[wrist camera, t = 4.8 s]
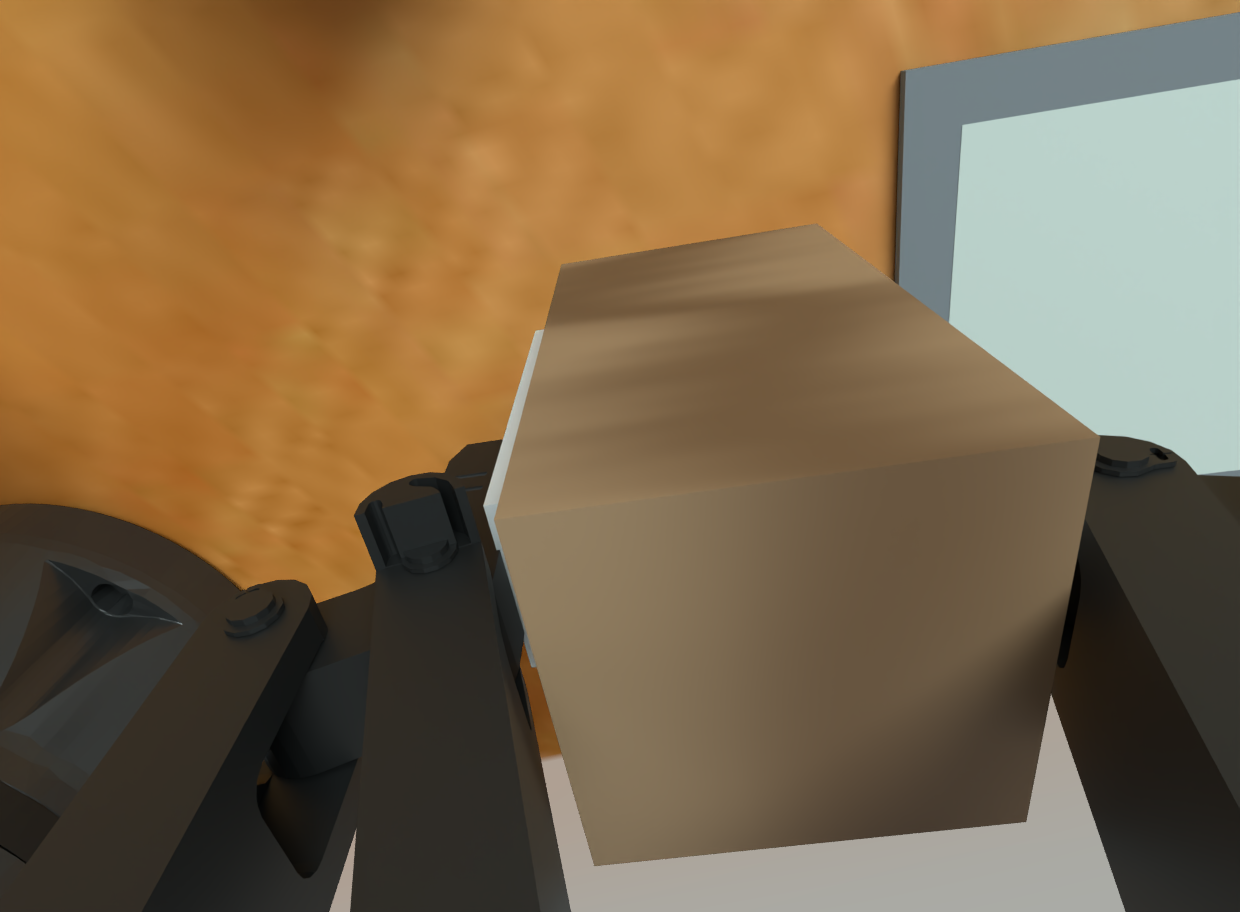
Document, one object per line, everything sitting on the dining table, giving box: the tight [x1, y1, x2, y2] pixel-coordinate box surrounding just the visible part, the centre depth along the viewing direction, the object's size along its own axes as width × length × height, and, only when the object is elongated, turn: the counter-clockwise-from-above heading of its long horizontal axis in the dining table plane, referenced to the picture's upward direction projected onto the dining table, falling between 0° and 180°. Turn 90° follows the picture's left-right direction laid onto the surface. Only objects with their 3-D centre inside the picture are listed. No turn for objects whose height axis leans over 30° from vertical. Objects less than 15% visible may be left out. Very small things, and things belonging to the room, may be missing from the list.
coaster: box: [895, 12, 1240, 476], centre depth 21 cm, size 15×15×1 cm
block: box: [494, 224, 1100, 866], centre depth 11 cm, size 5×5×9 cm
